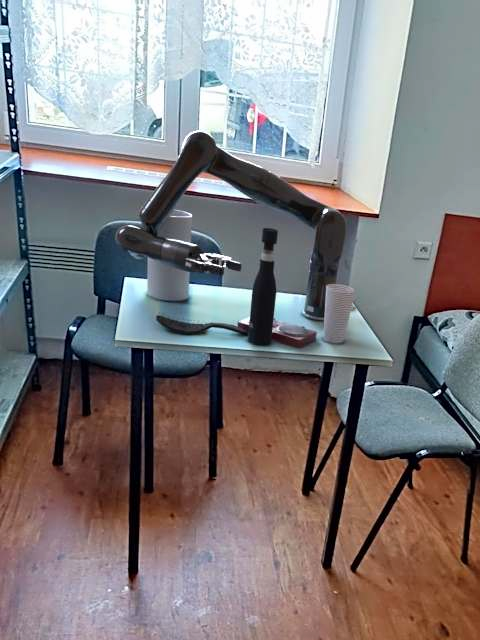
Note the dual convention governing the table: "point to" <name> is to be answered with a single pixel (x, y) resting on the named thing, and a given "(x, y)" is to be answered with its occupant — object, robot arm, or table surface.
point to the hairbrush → (194, 326)
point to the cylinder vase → (163, 277)
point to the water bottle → (264, 294)
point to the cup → (337, 311)
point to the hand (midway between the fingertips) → (232, 269)
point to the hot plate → (286, 333)
